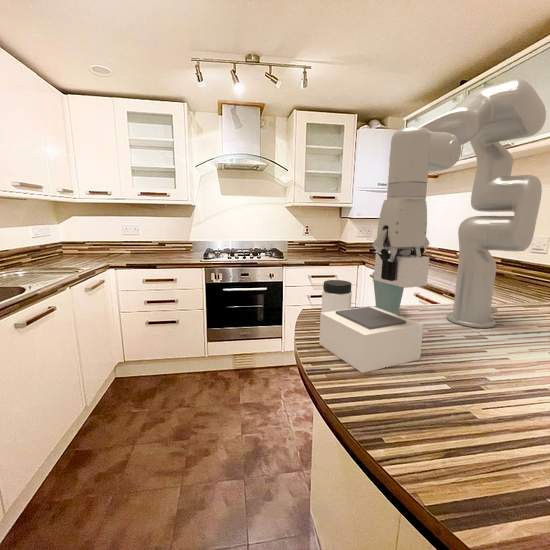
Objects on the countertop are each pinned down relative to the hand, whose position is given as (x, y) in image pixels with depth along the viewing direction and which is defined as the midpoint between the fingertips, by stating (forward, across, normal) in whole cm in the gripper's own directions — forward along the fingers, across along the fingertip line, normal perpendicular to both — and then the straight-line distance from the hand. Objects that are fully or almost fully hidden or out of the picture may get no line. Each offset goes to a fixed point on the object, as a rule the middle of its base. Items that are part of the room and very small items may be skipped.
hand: (399, 278), depth 68 cm
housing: (+1, 0, 0) cm, 1 cm away
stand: (+18, +4, -4) cm, 19 cm away
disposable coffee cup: (+18, -23, -24) cm, 38 cm away
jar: (+18, -3, -25) cm, 31 cm away
